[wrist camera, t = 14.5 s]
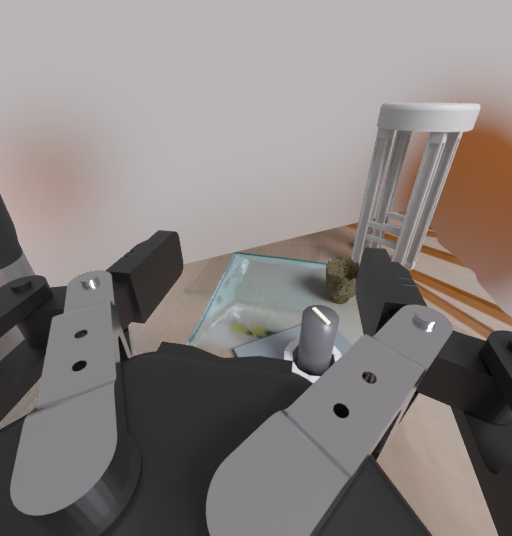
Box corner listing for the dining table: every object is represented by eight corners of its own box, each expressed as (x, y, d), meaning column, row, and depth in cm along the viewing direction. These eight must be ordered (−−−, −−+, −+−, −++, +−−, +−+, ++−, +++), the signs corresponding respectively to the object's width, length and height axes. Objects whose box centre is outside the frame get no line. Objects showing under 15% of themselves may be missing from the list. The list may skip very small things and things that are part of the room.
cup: (315, 292, 59) (319, 260, 55) (345, 286, 61) (351, 255, 57) (332, 314, 53) (339, 280, 49) (365, 307, 55) (374, 274, 51)
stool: (367, 246, 77) (402, 102, 59) (426, 267, 68) (489, 103, 49) (337, 266, 68) (367, 103, 50) (399, 293, 59) (465, 104, 40)
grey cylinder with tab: (290, 365, 42) (295, 309, 36) (315, 355, 43) (324, 299, 37) (307, 390, 38) (316, 332, 32) (333, 378, 40) (347, 321, 34)
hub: (234, 352, 45) (233, 335, 43) (323, 321, 52) (326, 304, 49) (289, 465, 31) (291, 448, 29) (402, 403, 38) (411, 385, 36)
